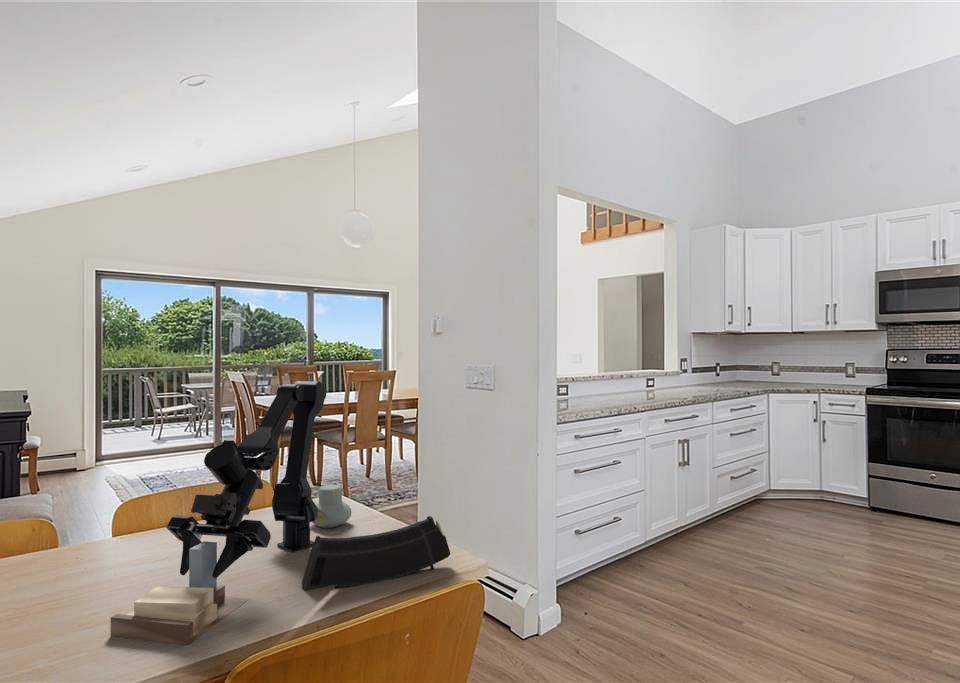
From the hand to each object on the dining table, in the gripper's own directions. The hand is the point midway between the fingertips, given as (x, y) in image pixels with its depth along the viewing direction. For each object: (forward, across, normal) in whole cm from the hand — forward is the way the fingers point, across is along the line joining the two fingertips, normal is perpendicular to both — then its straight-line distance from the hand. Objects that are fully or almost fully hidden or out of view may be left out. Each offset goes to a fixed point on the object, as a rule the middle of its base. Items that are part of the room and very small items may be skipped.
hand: (197, 575), depth 102 cm
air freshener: (-32, +1, +41) cm, 52 cm away
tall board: (+3, 0, +5) cm, 6 cm away
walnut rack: (+7, 0, +2) cm, 7 cm away
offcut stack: (+9, 0, -1) cm, 9 cm away
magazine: (-10, +26, +20) cm, 34 cm away
